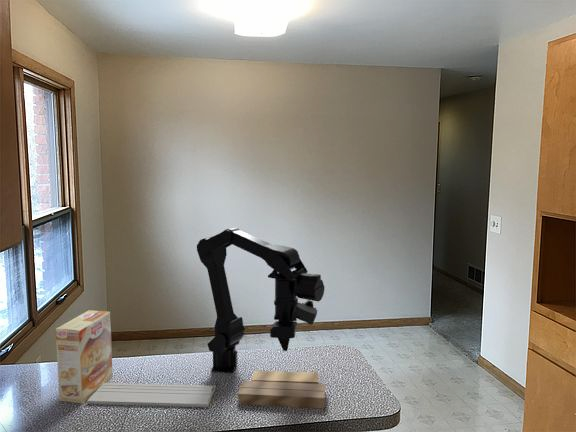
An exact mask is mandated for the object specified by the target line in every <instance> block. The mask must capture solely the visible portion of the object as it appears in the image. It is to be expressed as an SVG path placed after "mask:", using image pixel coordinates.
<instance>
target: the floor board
mask: <svg viewBox="0 0 576 432" xmlns="http://www.w3.org/2000/svg"><path fill="white" fill-rule="evenodd" d="M237 394H238V395H237V397H238V398H237V402H238V403H237V404H238V405H247V404H249V406H250V405H252V404H253V406H269V407H270V406H271V407H287V406H288V407H289V408H292V407H293V408H308V409H309V408H310V409H325V407H326V384H324V383H323V384H322V383H318V384H307V383H286V382H264V381H252V380H242V382H241V385H240V388H239V390H238V393H237Z"/></svg>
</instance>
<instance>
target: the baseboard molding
mask: <svg viewBox="0 0 576 432" xmlns="http://www.w3.org/2000/svg"><path fill="white" fill-rule="evenodd" d="M216 389H217V382H215V384H214V385H203V384H201V385H200V384H199V385H197V384H196V385H195V384H165V383H163V384H162V383H161V384H159V383H156V384H155V383H120V382H119V383H117V382H106V383H105V384H102V385H101V386H100V387H99V389H98V390H96V392H95V393H94V394H93V395H92V396H91V397H90V398H89V399H88V400H87V401H86V404H87V405H109V406H110V405H112V406H113V405H115V406H116V405H117V406H119V405H120V406H146V407H147V406H148V407H149V406H150V407H151V406H154V407H186V408H191V407H192V408H209V406H210V404H211V402H212V399H213V396H214V394H215V391H216Z"/></svg>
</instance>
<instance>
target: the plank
mask: <svg viewBox="0 0 576 432" xmlns="http://www.w3.org/2000/svg"><path fill="white" fill-rule="evenodd" d="M251 381H264V382H286V383H307V384H319V372H313V371H312V372H311V371H310V372H309V371H307V372H306V371H276V370H275V371H274V370H273V371H272V370H254V371H253V375H252V378H251Z"/></svg>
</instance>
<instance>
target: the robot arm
mask: <svg viewBox="0 0 576 432" xmlns="http://www.w3.org/2000/svg"><path fill="white" fill-rule="evenodd" d="M232 245H233V246H235V247H237V248H239V249H241V250H243V251H246V252H248V253H250V254H252V255H254V256H256V257H258V258H260V259H262V260H263V261H264V262H265V263H266V265H267V266H268V267H269V268H271V269H273V270H272V272H270V274H268V275H267V277H268V278H270V279H274V300H273V305H274V307H275V308H274V316H273V320H275V322H273V323H272V324H271V327H270V330H269V331H270V332H269V333H270V334H269V335H270V338H272V339H274V338H276V339H277V340H278V342H279V344H280V346H281V348H282V349H281V350H282V351H284V352H287V351H288V348H289V345H290V344H289V343H290V339H295V337H296V331H297V326H298V322H297V320H300V321H301V322H304V323H307V325H310V326H311V325H313V324H314V322H315V320H316V317H317V315H318V309H317V308H316V307H314V306H315V305H314V302H320V301H321V300H322V299H323V297H324V295H325V285H324V281H323V280H322V279H321V278H322V277H321V276H322V275H321V274H317V273H315V274H313V273H312V274H311V273H308V270H307V267H306V266H305V264H304V263H303V261H302V260H301V258H300V255H299V251H298V250H297V249H295V248H294V247H290V246H285V245H279V244H278V245H277V244H272V243H269V242H268V241H265V240H263V239H261V238H259V237H256V236H254V235H251V234H250V233H247V232H246V231H243V230H241V229H240V228H238V227H231V228H226V229H224V230H223V231H221V232H220V233H218V234H215V235H212V236H209V237H205V238H201V239H200V240H199V241H198V243H197V244H196V251H197V254H198V257H199V260H200V262H201V264H203V266H204V267H205V268H206V270H207V275H208V278H209V279H208V280H209V283H210V289H211V294H212V298H213V299H212V300H213V303H214V309H215V312H216V313H215V314H216V319H215V324H214V327H213V328H214V329H213V330H214V337H213V338H212V339H211V340H209V342H208V343H207V347H208V351H209V352H212V367H211V369H210V370H211V372H219V373H221V372H222V373H223V372H224V373H233V372H234V370H235V369H236V368H237V366H238V363H239V362H238V351H237V350H236V346H237V345H240V342H241V340H242V339H243V337H244V336H245V330H246V328H245V327H244V321H243V317H242V316H240V317H238V316H237V315H236V314H235V312H234V308H233V302H232V298H231V294H230V288H229V284H228V278H227V272H226V268H225V261H226V259H227V258H226V257H227V254H228V253H227V248H229V247H230V246H232ZM299 299H303V300H306V301H305V302H302V303H301V302H299Z"/></svg>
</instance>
